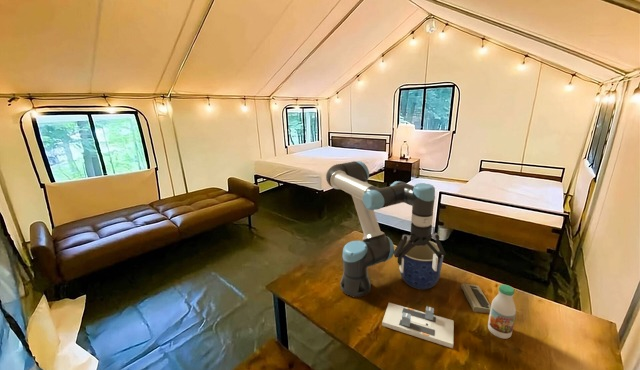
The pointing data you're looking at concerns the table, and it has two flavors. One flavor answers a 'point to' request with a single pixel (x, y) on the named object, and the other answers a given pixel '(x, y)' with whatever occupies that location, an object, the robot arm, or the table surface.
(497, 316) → the milk bottle
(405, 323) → the tab near
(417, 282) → the planter
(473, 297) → the computer
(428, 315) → the tab far
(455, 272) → the table surface
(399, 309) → the switch board
